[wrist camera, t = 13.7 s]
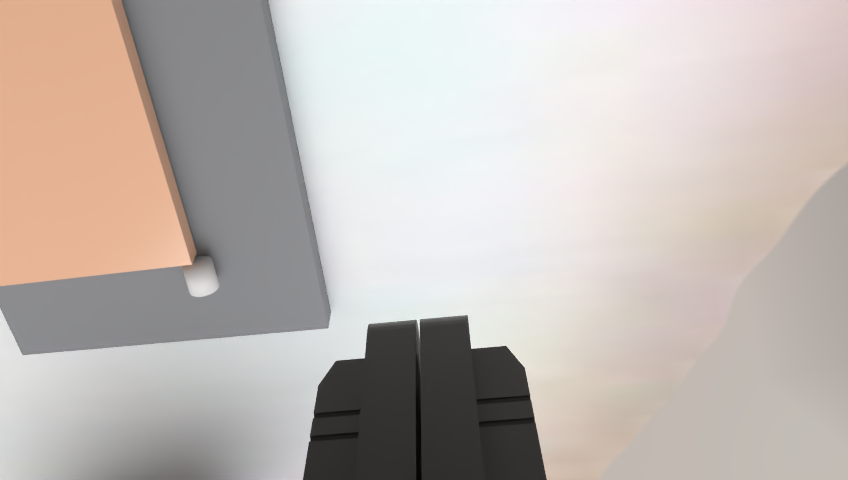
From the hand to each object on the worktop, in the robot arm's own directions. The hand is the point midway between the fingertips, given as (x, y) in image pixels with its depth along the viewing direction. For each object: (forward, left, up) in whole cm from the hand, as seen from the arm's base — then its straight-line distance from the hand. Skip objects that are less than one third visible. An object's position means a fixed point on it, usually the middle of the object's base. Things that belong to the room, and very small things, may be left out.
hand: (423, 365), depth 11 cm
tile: (+5, -18, -24) cm, 30 cm away
